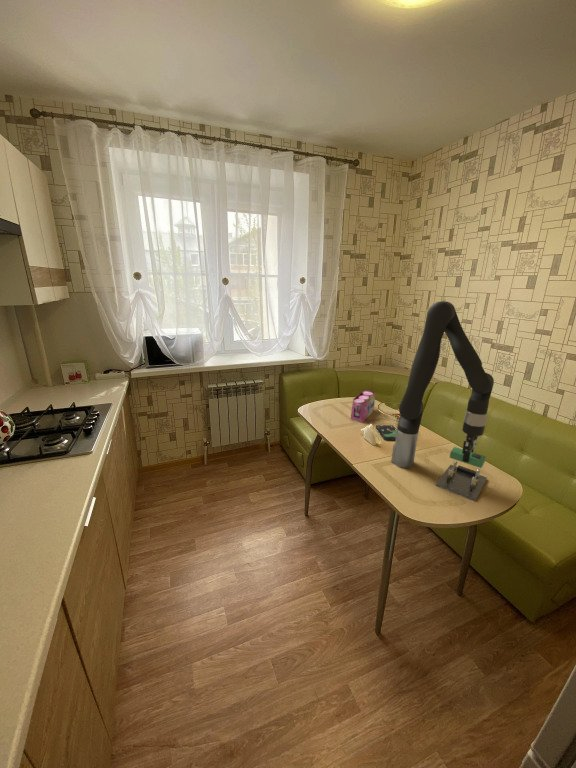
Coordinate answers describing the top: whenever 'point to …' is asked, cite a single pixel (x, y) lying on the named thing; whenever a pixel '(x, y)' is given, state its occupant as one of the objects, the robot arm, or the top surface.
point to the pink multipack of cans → (363, 405)
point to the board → (473, 459)
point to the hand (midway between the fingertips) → (467, 458)
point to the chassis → (462, 481)
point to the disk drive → (387, 432)
